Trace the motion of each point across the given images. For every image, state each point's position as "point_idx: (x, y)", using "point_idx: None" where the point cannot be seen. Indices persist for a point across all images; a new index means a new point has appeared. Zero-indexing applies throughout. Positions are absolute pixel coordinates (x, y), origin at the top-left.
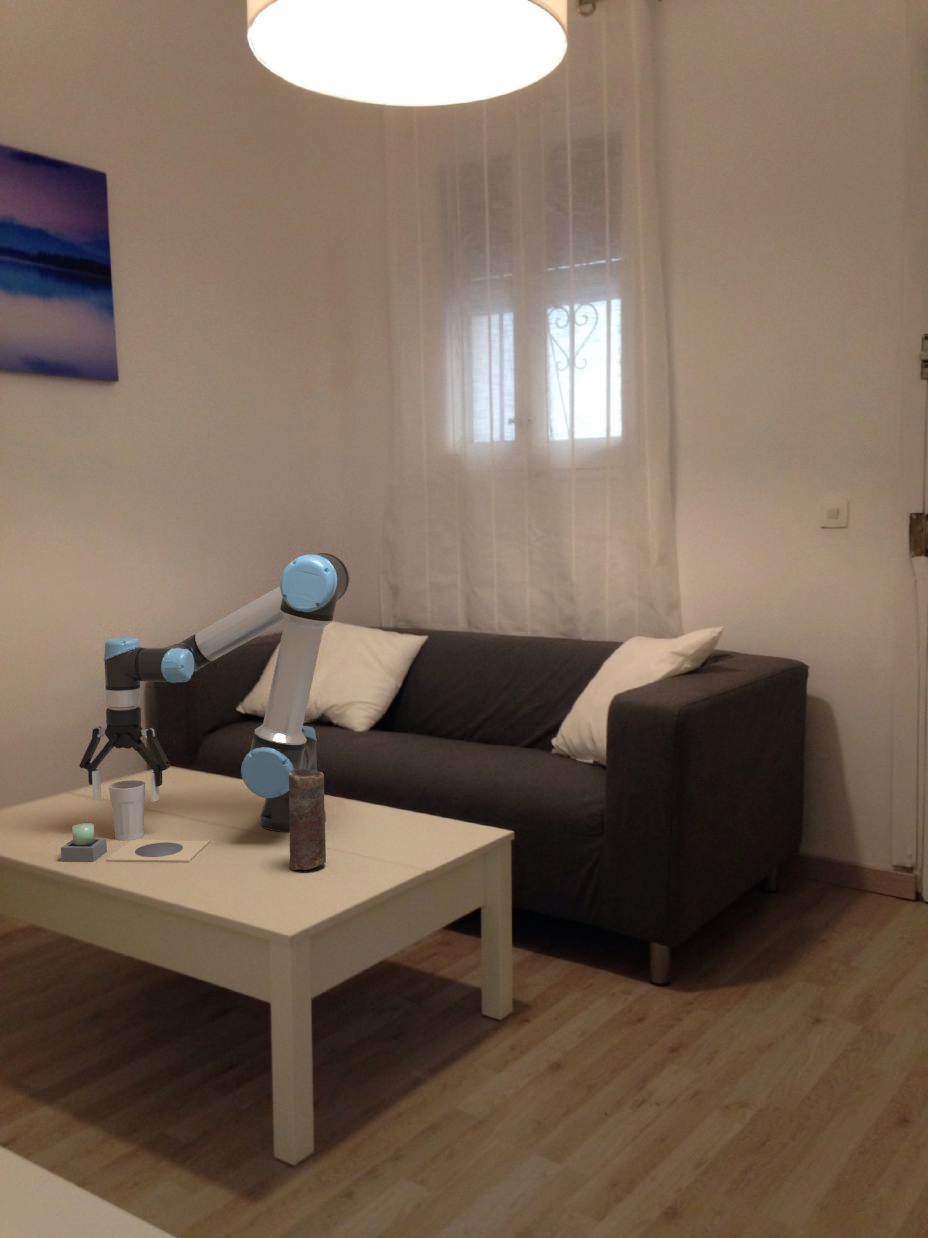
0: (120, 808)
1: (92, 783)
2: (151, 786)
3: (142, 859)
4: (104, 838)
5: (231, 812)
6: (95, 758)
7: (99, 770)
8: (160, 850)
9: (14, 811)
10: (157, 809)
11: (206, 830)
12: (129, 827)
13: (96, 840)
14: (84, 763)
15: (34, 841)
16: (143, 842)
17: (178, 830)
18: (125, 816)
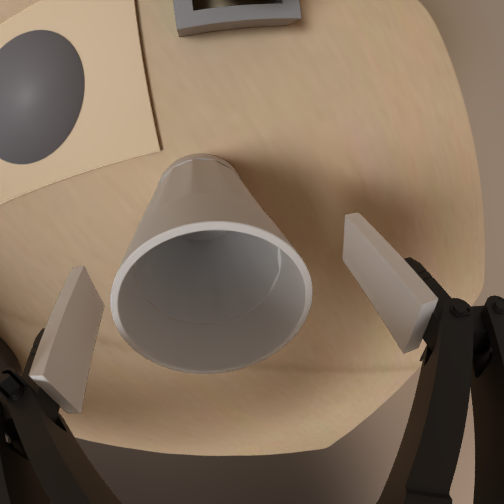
0: (197, 185)
1: (400, 256)
2: (61, 316)
3: (26, 12)
4: (183, 26)
5: (104, 384)
6: (468, 378)
7: (403, 343)
8: (14, 91)
9: (480, 283)
10: (259, 371)
11: (47, 291)
12: (171, 174)
13: (207, 9)
14: (498, 321)
15: (431, 117)
16: (104, 139)
17: (104, 277)
18: (179, 181)
